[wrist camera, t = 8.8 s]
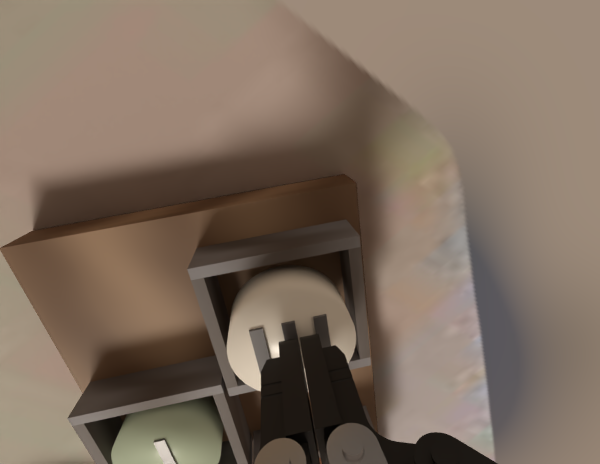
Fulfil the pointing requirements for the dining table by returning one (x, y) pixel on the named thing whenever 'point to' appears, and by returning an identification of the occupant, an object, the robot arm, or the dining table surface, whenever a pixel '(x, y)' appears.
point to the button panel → (184, 300)
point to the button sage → (171, 435)
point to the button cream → (285, 318)
